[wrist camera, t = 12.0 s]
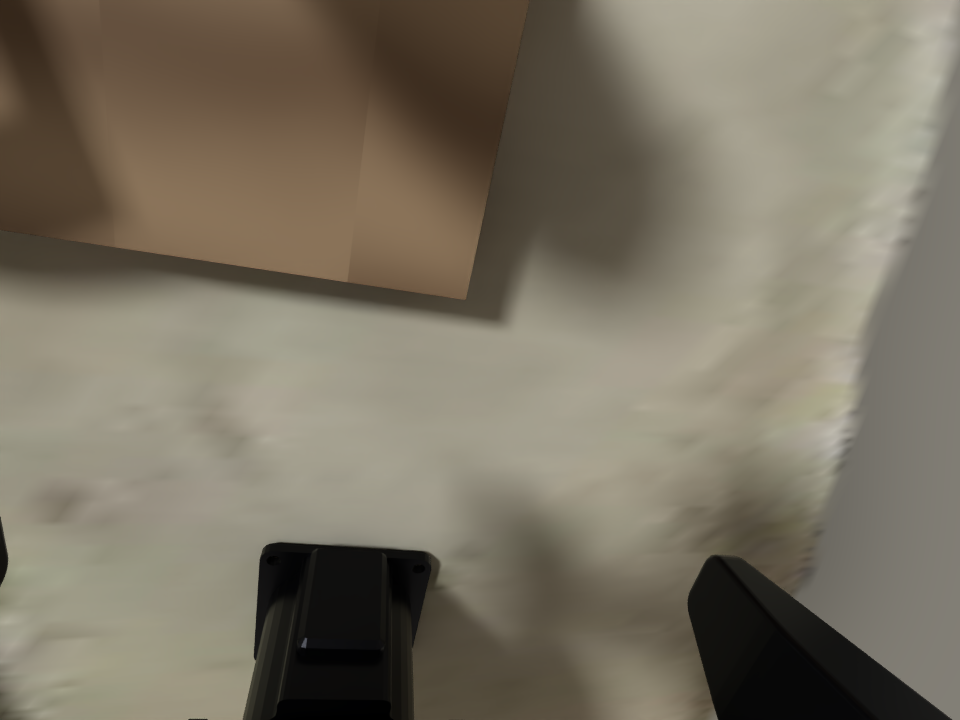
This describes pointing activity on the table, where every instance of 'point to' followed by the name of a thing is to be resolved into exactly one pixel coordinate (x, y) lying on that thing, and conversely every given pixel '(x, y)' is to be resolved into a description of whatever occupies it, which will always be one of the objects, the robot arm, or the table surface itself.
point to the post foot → (260, 130)
